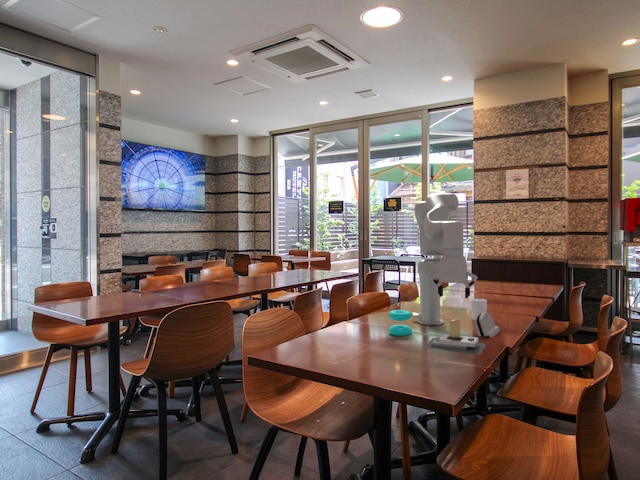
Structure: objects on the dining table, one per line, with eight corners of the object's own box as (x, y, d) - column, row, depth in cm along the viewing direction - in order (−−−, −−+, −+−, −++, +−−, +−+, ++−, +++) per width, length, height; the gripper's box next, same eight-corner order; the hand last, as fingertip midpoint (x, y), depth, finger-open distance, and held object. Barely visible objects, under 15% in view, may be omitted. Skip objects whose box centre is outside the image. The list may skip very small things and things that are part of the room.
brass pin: (448, 346, 157) (447, 320, 157) (450, 343, 161) (450, 318, 160) (459, 347, 155) (458, 321, 155) (461, 345, 159) (460, 319, 158)
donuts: (410, 314, 173) (386, 313, 177) (410, 337, 174) (387, 336, 177) (412, 309, 183) (390, 309, 186) (413, 332, 183) (391, 330, 186)
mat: (422, 349, 156) (422, 347, 156) (432, 339, 170) (432, 338, 170) (480, 356, 146) (480, 354, 146) (486, 345, 160) (486, 343, 160)
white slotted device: (491, 338, 169) (482, 315, 171) (479, 341, 171) (471, 318, 173) (500, 330, 182) (492, 309, 184) (489, 333, 185) (481, 311, 187)
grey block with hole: (431, 346, 158) (430, 337, 158) (436, 340, 166) (436, 332, 166) (474, 351, 150) (474, 341, 150) (478, 345, 158) (478, 336, 158)
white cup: (488, 318, 207) (488, 299, 207) (485, 321, 201) (485, 301, 201) (472, 317, 212) (472, 298, 211) (468, 320, 205) (468, 300, 205)
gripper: (428, 253, 158) (429, 297, 159) (475, 253, 150) (475, 300, 150) (433, 252, 165) (433, 294, 165) (478, 252, 156) (479, 297, 157)
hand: (453, 297), depth 158 cm, fingers open, 9 cm apart
